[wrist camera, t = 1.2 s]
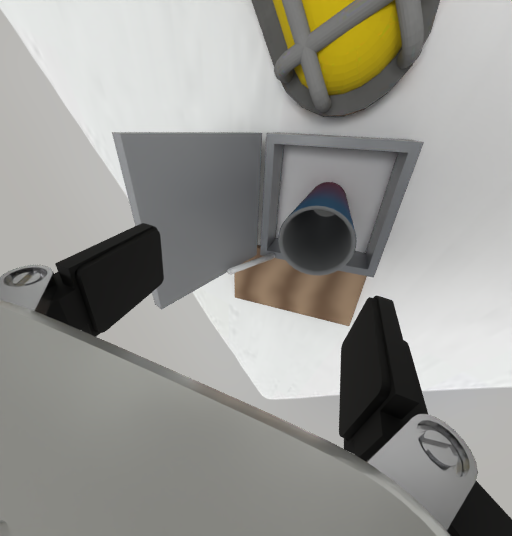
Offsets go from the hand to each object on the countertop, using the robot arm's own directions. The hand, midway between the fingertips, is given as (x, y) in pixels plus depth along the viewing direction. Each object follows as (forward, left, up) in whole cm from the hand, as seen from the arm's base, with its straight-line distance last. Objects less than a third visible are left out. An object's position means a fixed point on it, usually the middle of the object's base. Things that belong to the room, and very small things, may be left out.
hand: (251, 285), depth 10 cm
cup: (-2, +3, -27) cm, 27 cm away
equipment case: (-1, +3, -27) cm, 27 cm away
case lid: (+9, +3, -14) cm, 17 cm away
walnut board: (+1, +18, -27) cm, 32 cm away
